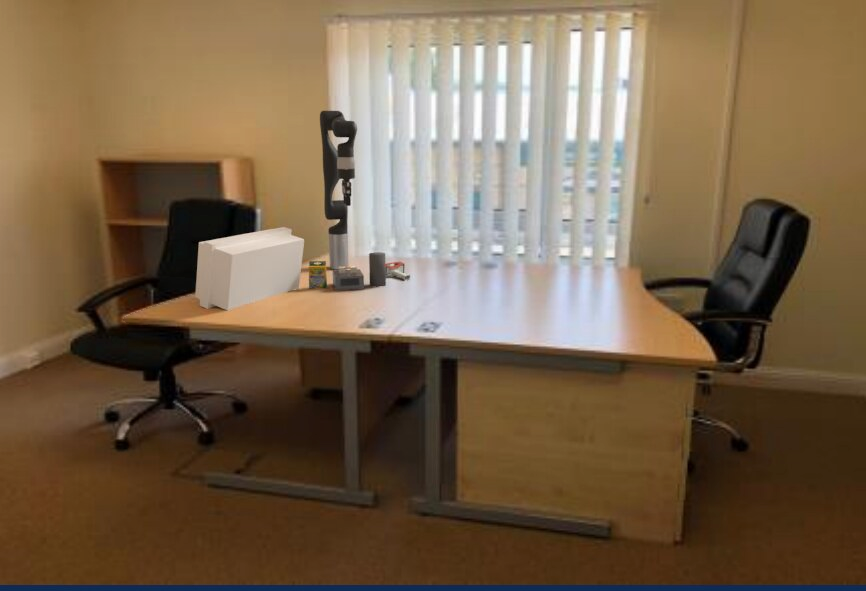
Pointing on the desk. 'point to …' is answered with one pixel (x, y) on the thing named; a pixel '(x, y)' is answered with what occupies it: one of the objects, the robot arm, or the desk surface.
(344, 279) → the panel
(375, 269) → the grey round-ended cylinder
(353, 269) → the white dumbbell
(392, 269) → the tape dispenser
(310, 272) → the crayon box
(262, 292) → the light box
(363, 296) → the desk surface
